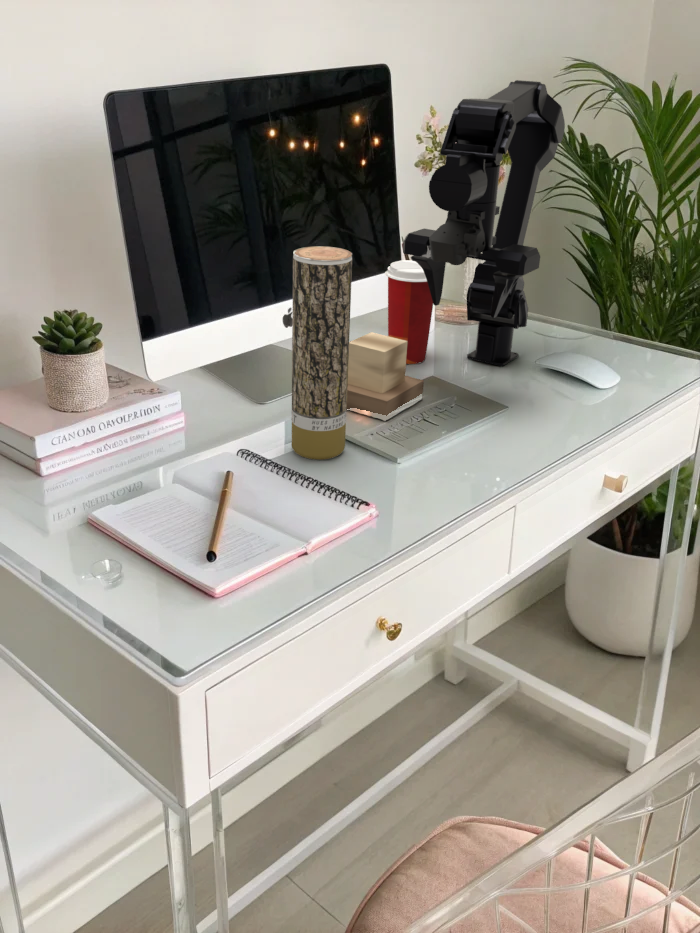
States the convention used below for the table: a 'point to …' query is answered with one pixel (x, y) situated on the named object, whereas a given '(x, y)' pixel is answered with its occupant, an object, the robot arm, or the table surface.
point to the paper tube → (320, 350)
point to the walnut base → (384, 396)
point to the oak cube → (377, 362)
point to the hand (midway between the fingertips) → (464, 311)
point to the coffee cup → (409, 308)
